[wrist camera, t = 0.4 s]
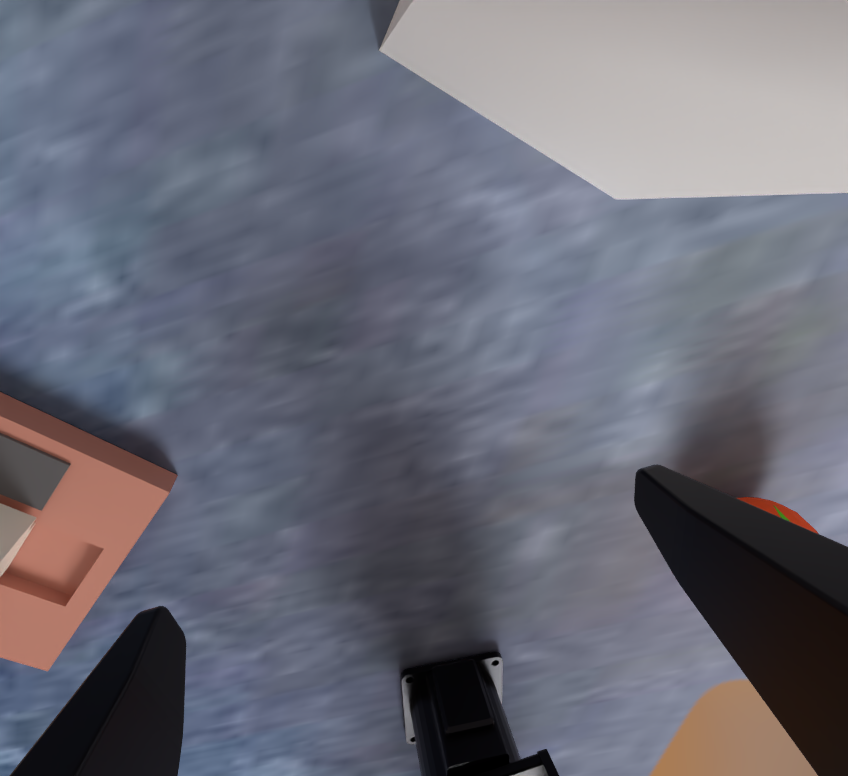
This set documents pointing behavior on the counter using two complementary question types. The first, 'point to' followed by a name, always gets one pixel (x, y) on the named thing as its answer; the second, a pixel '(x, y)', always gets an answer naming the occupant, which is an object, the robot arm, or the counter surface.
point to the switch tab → (12, 533)
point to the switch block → (65, 525)
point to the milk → (650, 87)
